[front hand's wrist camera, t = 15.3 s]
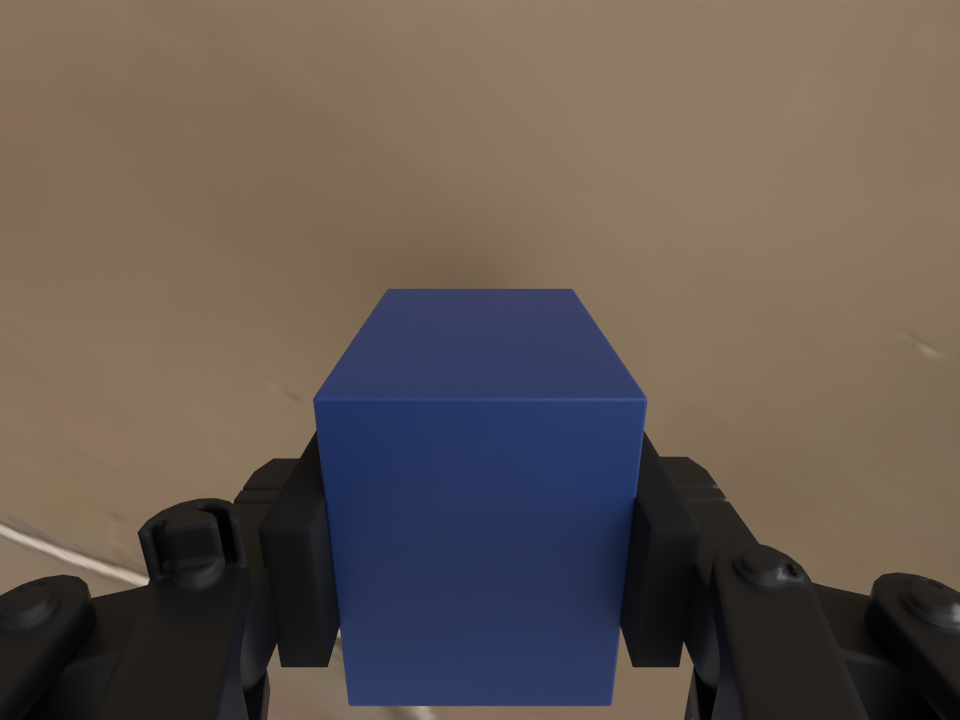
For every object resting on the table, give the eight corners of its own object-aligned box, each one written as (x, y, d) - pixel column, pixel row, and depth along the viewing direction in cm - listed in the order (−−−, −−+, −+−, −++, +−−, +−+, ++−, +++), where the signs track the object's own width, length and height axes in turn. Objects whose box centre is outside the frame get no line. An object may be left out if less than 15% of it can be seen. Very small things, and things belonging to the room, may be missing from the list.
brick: (399, 492, 17) (348, 707, 10) (387, 288, 15) (311, 397, 8) (560, 492, 17) (612, 708, 10) (573, 288, 15) (649, 397, 8)
